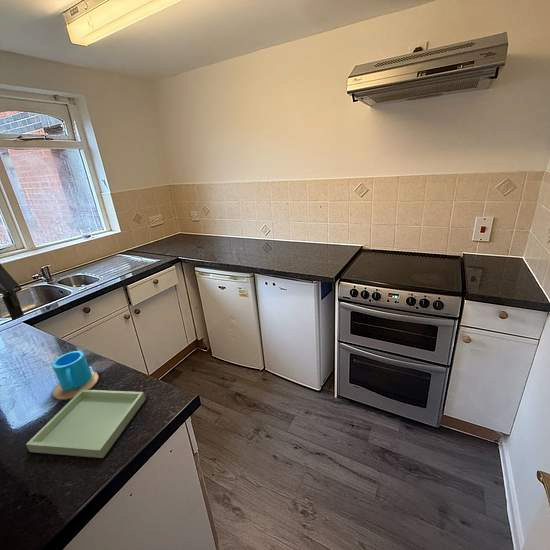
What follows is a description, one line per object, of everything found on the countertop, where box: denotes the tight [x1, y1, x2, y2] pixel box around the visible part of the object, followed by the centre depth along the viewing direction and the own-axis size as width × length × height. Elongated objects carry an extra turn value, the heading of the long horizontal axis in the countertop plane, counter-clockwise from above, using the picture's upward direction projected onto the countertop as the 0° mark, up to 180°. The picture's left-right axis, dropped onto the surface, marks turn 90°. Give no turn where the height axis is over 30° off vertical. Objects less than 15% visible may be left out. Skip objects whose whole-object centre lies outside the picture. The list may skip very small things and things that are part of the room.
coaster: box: [52, 370, 100, 401], centre depth 91 cm, size 12×12×1 cm
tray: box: [25, 389, 147, 459], centre depth 76 cm, size 20×18×2 cm
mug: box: [51, 350, 92, 390], centre depth 90 cm, size 12×8×8 cm
